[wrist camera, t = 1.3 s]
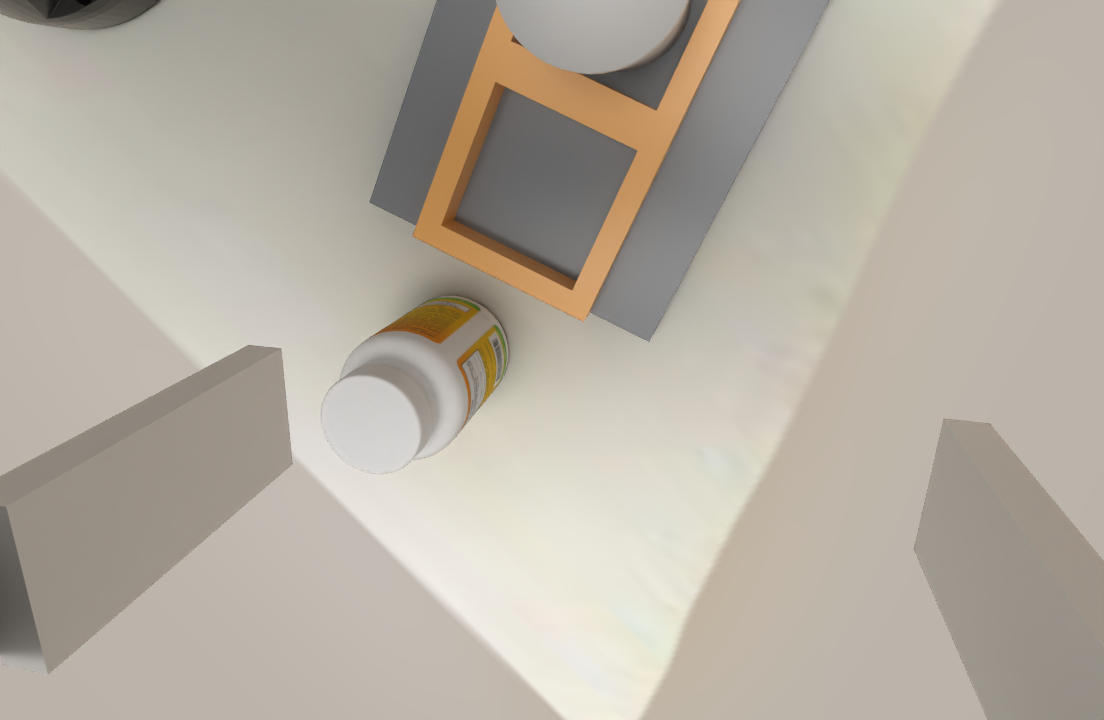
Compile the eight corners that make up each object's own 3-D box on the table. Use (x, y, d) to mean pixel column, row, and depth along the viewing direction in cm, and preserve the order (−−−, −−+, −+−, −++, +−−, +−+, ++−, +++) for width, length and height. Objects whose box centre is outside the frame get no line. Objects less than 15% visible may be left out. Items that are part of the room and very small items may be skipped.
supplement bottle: (384, 341, 37) (274, 416, 28) (454, 270, 35) (361, 326, 26) (459, 419, 37) (375, 518, 28) (533, 353, 35) (468, 436, 26)
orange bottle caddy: (380, 199, 35) (271, 227, 26) (510, -183, 29) (422, -303, 20) (651, 334, 34) (627, 407, 26) (843, -30, 28) (893, -90, 20)
